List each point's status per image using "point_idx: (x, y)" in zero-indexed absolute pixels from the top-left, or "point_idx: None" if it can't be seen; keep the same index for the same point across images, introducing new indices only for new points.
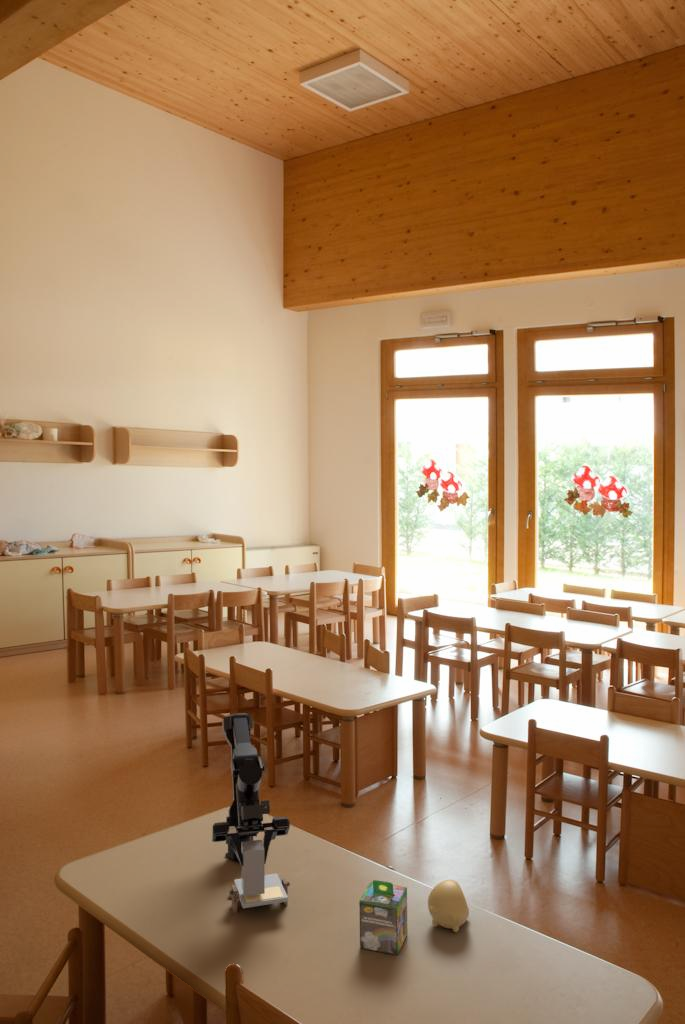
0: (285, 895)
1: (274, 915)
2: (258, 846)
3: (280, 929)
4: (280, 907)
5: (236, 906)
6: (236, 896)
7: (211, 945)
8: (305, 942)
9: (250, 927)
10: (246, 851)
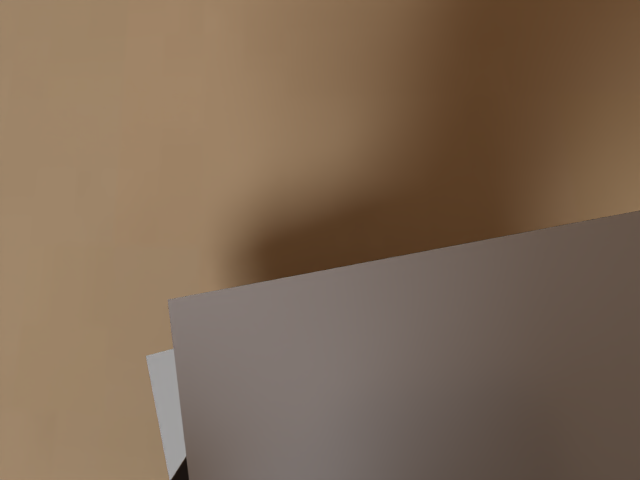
0: (163, 383)
1: None
2: (311, 452)
3: (242, 228)
4: None
5: None
6: None
7: (629, 74)
8: (114, 109)
9: (418, 251)
10: (591, 222)
